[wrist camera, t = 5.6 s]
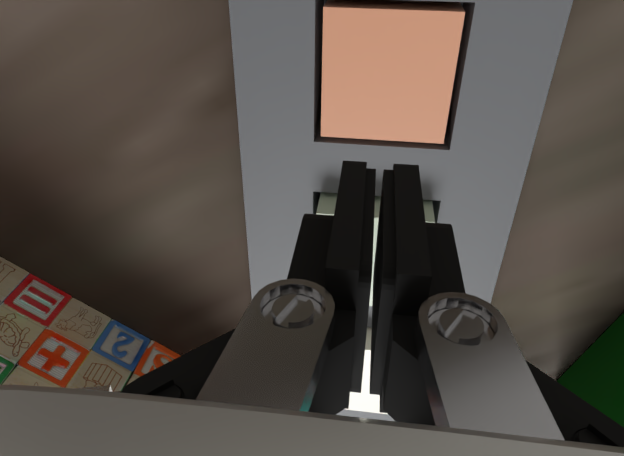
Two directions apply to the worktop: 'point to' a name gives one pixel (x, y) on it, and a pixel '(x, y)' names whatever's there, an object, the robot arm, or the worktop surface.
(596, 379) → the milk carton
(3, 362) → the stack of blocks
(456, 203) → the key panel
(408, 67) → the terracotta key
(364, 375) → the cream key
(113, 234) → the worktop surface
